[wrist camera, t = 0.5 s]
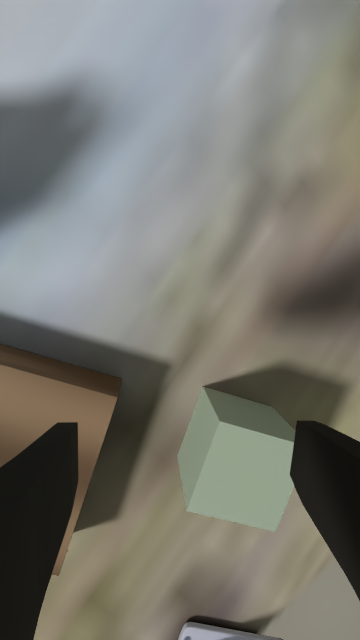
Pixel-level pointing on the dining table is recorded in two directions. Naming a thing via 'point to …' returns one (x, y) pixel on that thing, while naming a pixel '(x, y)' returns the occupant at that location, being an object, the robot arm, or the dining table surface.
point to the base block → (54, 413)
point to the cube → (237, 460)
